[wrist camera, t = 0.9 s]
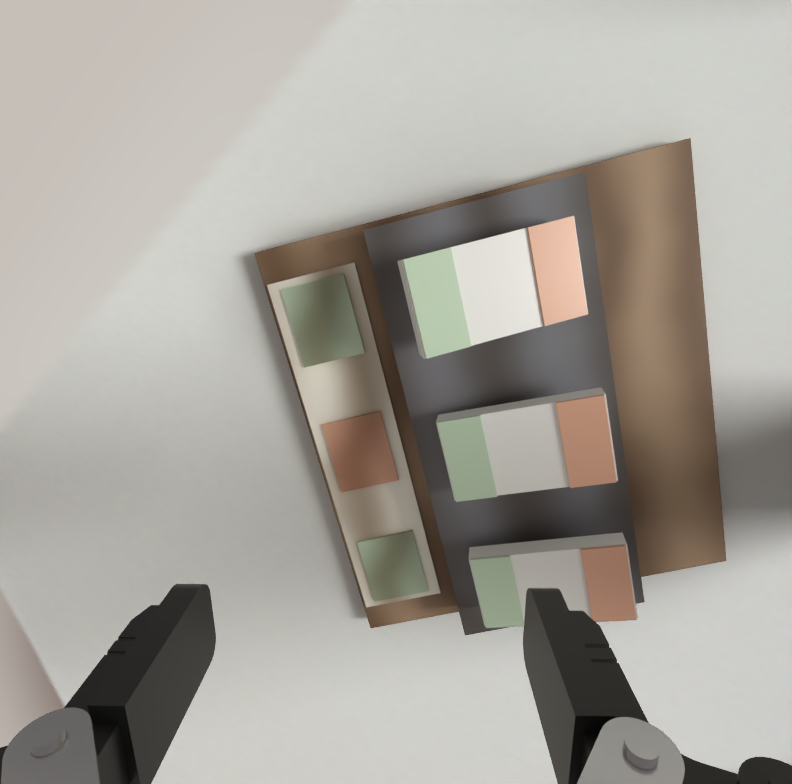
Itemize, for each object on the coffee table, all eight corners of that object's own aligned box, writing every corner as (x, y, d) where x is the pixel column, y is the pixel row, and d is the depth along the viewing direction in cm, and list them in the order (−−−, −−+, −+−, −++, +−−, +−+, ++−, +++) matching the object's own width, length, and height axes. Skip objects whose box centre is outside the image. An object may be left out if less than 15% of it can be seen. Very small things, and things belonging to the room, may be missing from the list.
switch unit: (679, 142, 29) (735, 119, 24) (716, 550, 36) (765, 598, 31) (260, 253, 32) (232, 253, 26) (371, 616, 39) (366, 671, 34)
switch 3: (622, 532, 29) (627, 546, 28) (632, 603, 30) (638, 619, 29) (469, 547, 31) (468, 560, 30) (485, 612, 33) (484, 628, 31)
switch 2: (601, 387, 27) (606, 394, 25) (613, 470, 28) (618, 482, 27) (438, 414, 29) (435, 423, 28) (456, 490, 30) (454, 502, 29)
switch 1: (562, 218, 26) (575, 215, 25) (576, 312, 27) (589, 313, 26) (397, 260, 25) (401, 259, 24) (419, 355, 26) (424, 359, 25)
